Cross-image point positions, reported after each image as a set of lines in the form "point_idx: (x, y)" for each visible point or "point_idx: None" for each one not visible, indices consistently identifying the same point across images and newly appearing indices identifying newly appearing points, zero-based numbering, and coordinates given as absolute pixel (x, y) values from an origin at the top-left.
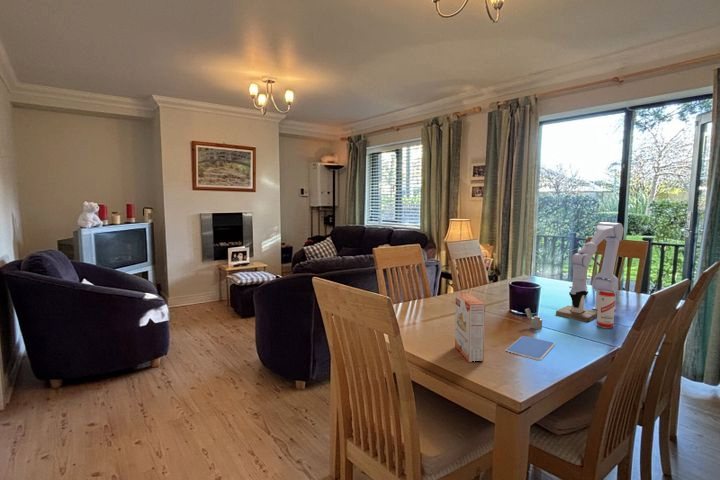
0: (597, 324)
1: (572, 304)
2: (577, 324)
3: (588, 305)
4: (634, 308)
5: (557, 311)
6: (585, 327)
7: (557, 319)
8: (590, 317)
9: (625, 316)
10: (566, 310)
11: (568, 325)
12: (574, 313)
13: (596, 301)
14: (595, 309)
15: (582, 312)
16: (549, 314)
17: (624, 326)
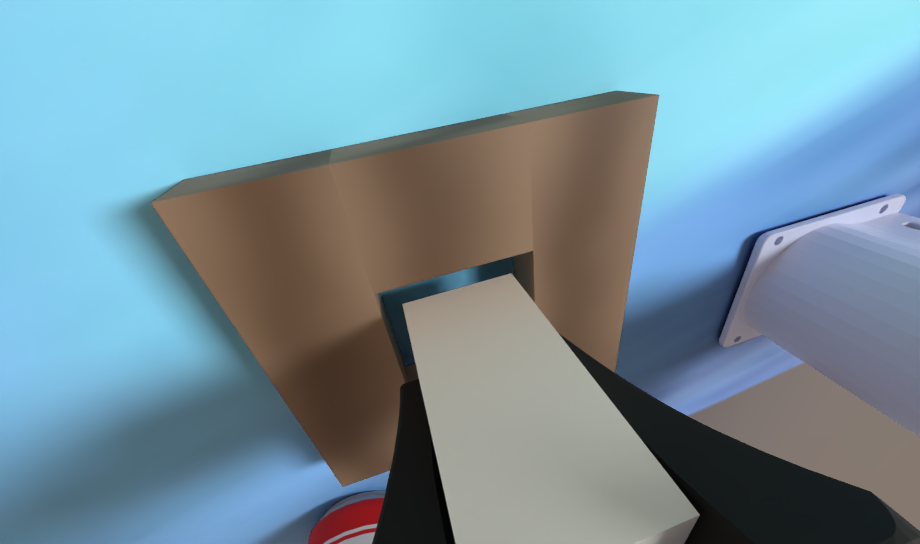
0: (314, 527)
1: (423, 387)
2: (171, 477)
3: (886, 132)
4: None
5: (168, 223)
6: (183, 525)
7: (21, 331)
8: None
9: (682, 408)
10: (365, 263)
11: (20, 489)
12: (339, 381)
13: (861, 289)
14: (749, 261)
15: None
16: (54, 102)
17: None
